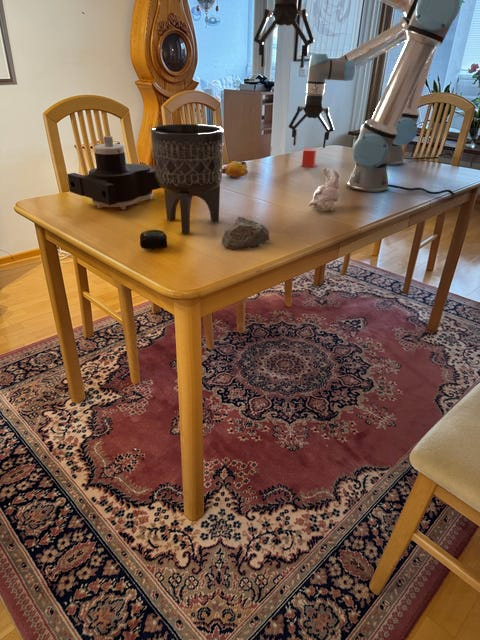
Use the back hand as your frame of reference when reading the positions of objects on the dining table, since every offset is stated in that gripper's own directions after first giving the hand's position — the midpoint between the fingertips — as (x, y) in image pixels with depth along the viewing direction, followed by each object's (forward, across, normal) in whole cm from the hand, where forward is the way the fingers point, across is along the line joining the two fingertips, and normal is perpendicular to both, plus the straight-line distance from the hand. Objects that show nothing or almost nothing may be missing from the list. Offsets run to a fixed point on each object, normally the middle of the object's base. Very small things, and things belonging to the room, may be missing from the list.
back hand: (309, 146), depth 208 cm
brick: (+9, +1, 0) cm, 9 cm away
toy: (+9, -26, -32) cm, 42 cm away
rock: (+9, -1, -108) cm, 109 cm away
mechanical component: (+10, -50, -82) cm, 96 cm away
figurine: (+9, +15, -69) cm, 71 cm away
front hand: (-32, -7, -45) cm, 55 cm away
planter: (+9, -21, -98) cm, 101 cm away
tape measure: (+10, -23, -119) cm, 122 cm away
